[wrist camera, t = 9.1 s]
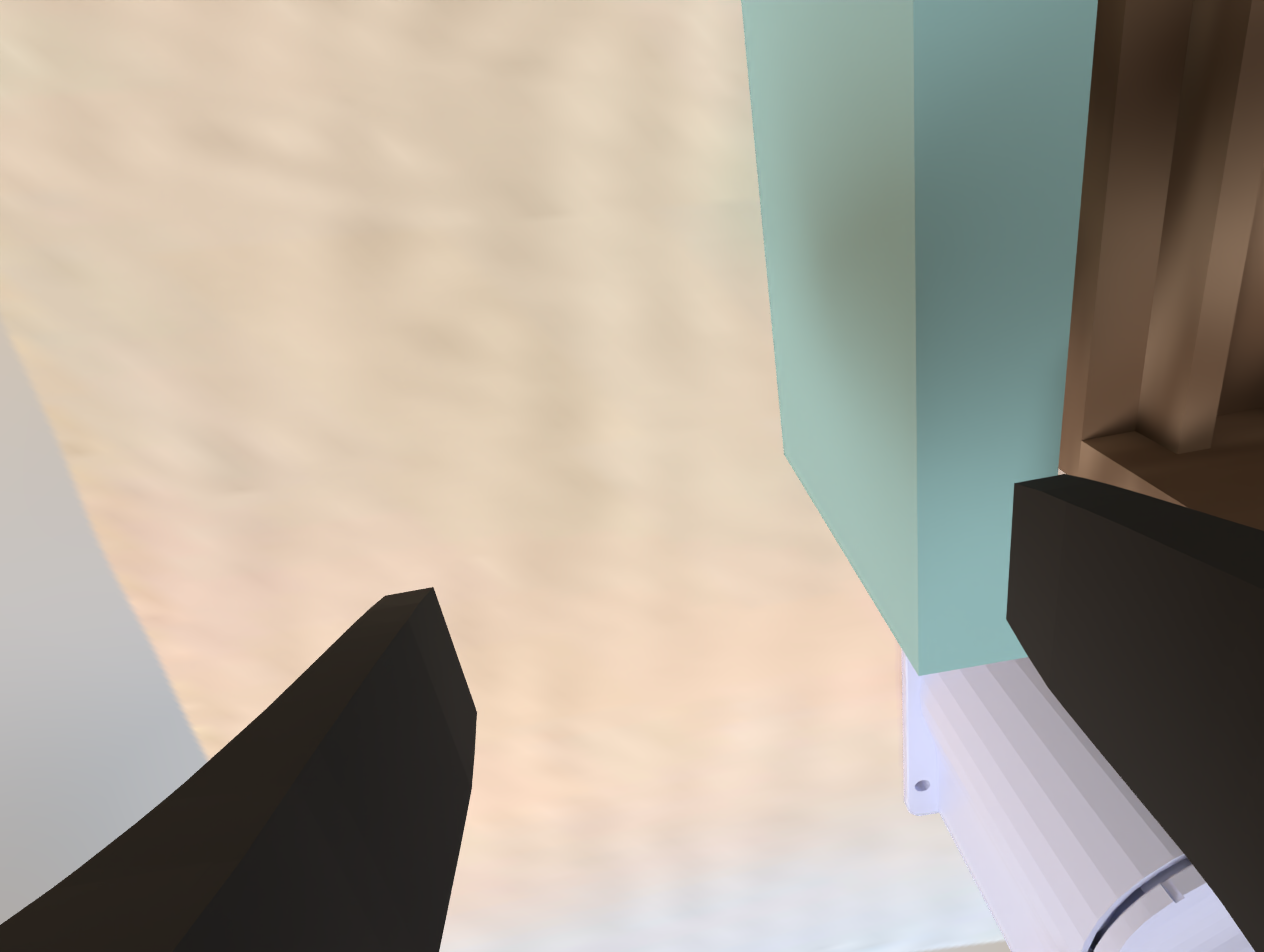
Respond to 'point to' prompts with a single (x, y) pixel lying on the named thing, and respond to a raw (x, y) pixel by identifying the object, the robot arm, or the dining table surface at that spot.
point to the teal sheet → (922, 283)
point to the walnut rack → (1172, 259)
